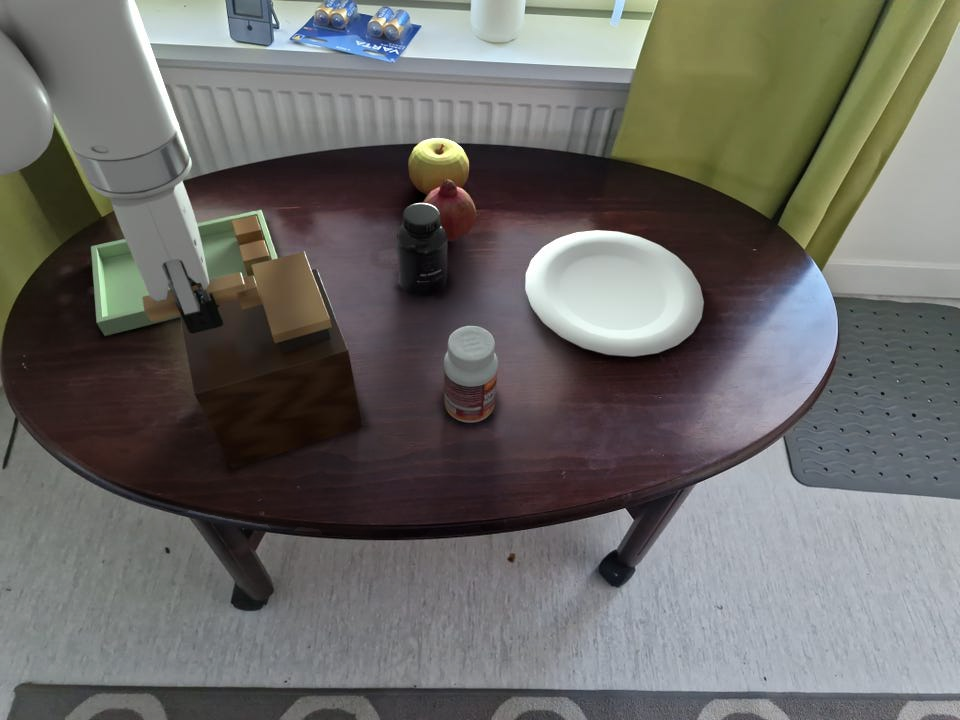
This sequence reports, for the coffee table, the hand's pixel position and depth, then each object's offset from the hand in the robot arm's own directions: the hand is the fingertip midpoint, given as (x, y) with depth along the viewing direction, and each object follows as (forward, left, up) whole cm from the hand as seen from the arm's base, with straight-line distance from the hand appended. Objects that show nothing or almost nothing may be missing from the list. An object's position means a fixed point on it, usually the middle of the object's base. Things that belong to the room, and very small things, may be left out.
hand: (204, 317), depth 63 cm
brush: (+3, 0, -3) cm, 4 cm away
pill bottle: (+25, -8, -17) cm, 32 cm away
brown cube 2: (+6, +30, -16) cm, 35 cm away
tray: (-3, +27, -17) cm, 32 cm away
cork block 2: (+6, +24, -16) cm, 30 cm away
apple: (+37, +34, -17) cm, 53 cm away
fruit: (+34, +22, -17) cm, 44 cm away
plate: (+51, +2, -17) cm, 54 cm away
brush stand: (+5, 0, -17) cm, 18 cm away
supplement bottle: (+27, +14, -17) cm, 35 cm away
